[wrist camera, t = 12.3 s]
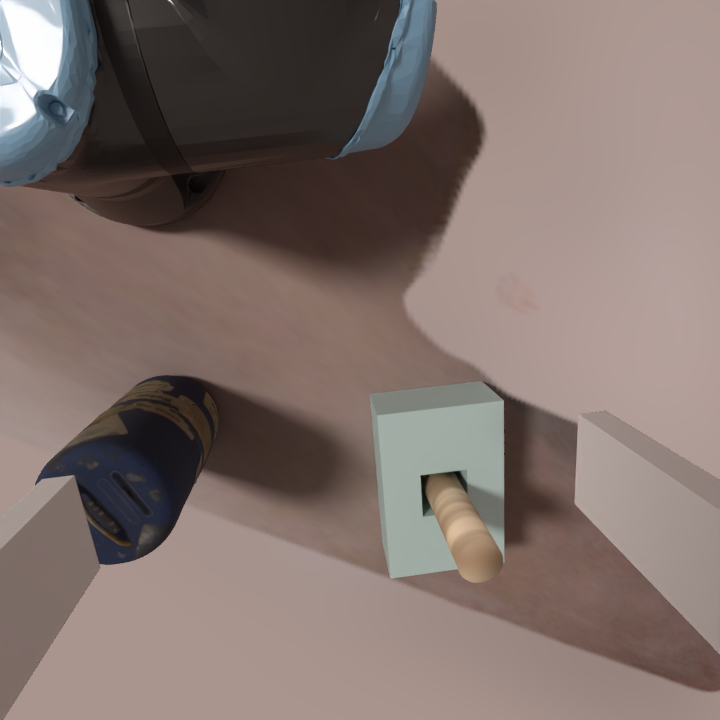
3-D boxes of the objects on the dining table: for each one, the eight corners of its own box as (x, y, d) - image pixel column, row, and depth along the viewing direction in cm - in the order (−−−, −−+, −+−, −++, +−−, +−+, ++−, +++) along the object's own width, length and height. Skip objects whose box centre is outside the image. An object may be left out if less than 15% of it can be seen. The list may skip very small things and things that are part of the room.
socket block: (369, 393, 49) (377, 415, 43) (481, 381, 49) (503, 400, 44) (382, 541, 53) (390, 578, 48) (484, 527, 54) (504, 562, 48)
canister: (203, 359, 46) (136, 435, 29) (235, 443, 49) (192, 559, 31) (109, 386, 46) (-16, 479, 28) (147, 469, 48) (54, 600, 31)
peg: (413, 451, 51) (457, 546, 35) (445, 447, 51) (503, 540, 36) (415, 481, 52) (458, 585, 36) (447, 476, 52) (503, 579, 37)
